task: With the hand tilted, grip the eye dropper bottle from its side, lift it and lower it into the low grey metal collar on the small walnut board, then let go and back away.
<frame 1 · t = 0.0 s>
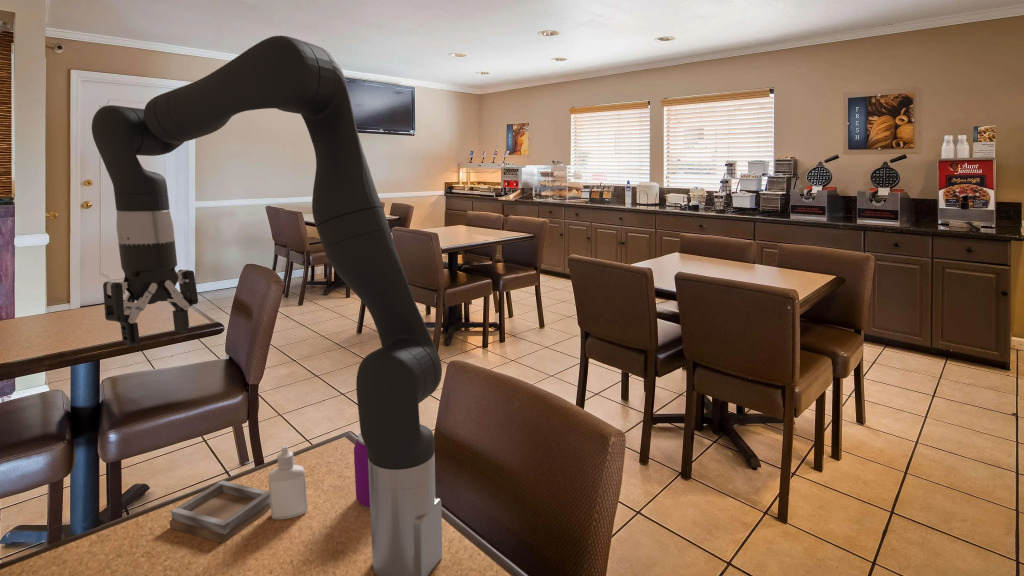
hand: (158, 338, 92), 29 cm above the table, tool pointing down, fingers open, 8 cm apart
eye dropper bottle: (289, 514, 95), on the table
rosette stand: (224, 516, 94), on the table
beverage can: (378, 500, 99), on the table
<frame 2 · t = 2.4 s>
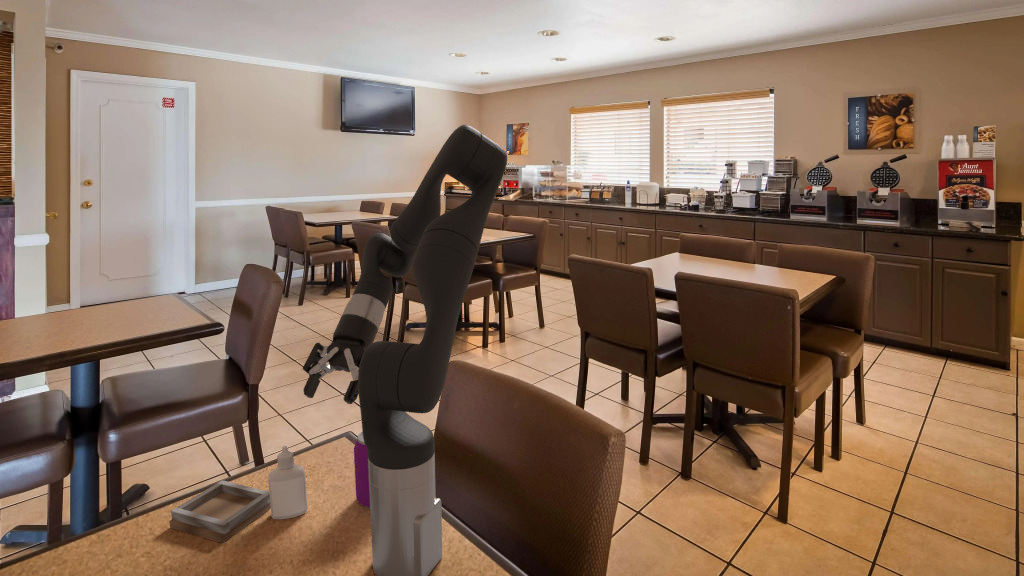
hand: (327, 399, 102), 16 cm above the table, tool tilted 45°, fingers open, 8 cm apart
nothing on the table moved.
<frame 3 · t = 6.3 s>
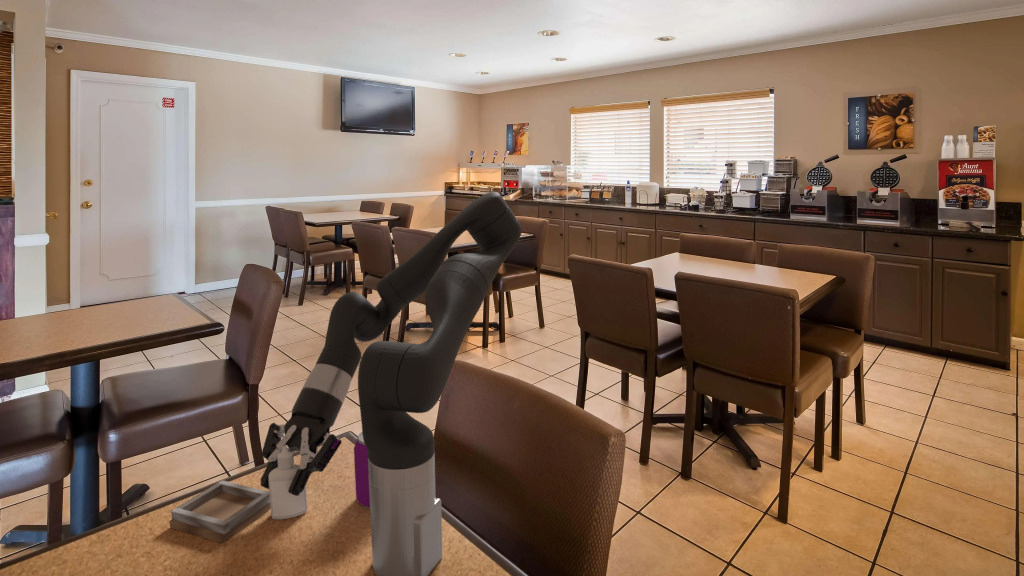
hand: (279, 490, 92), 5 cm above the table, tool tilted 45°, fingers closed on eye dropper bottle, 5 cm apart
eye dropper bottle: (289, 514, 95), on the table, touching gripper
everything else where it was.
when the fingers open (8 cm above the table, at t = 11.2 s): eye dropper bottle drops 1 cm, resting on rosette stand.
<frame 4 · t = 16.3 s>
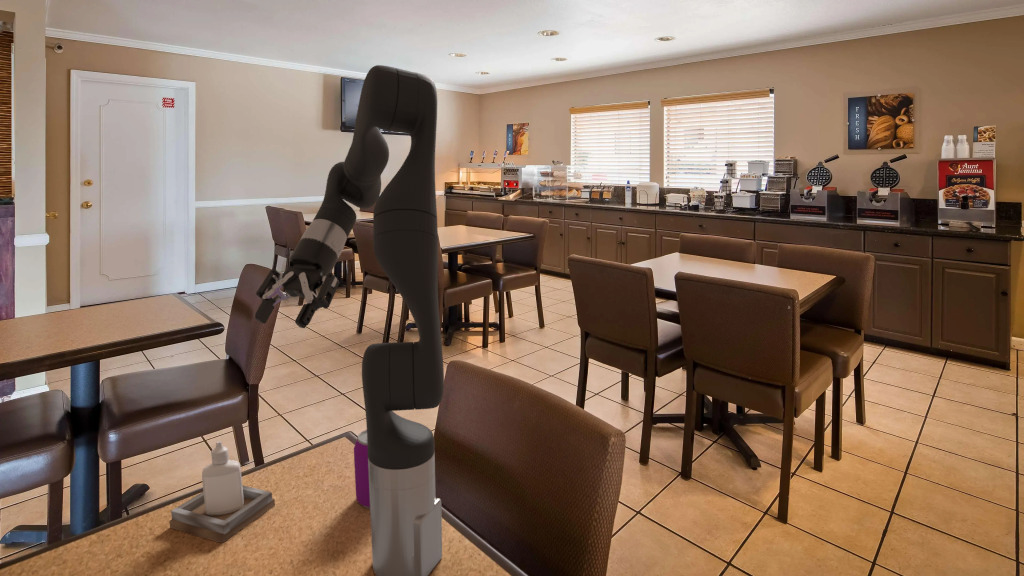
hand: (279, 323, 97), 31 cm above the table, tool tilted 45°, fingers open, 8 cm apart
eye dropper bottle: (225, 510, 93), point 1 cm above the table, touching rosette stand
everything else where it was.
at the end: eye dropper bottle inside the target area on the rosette stand (0.2 cm from its centre), point 1.0 cm above the rosette stand's base; eye dropper bottle tilted 0°; the gripper is holding nothing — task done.
